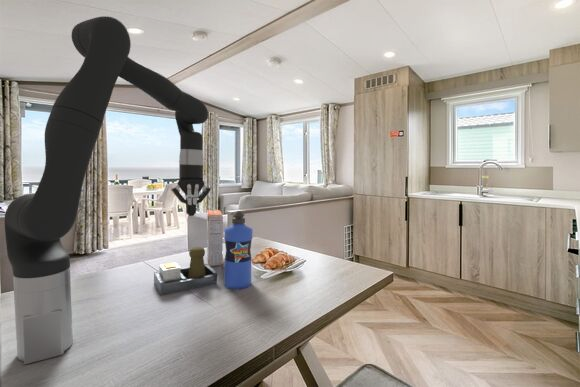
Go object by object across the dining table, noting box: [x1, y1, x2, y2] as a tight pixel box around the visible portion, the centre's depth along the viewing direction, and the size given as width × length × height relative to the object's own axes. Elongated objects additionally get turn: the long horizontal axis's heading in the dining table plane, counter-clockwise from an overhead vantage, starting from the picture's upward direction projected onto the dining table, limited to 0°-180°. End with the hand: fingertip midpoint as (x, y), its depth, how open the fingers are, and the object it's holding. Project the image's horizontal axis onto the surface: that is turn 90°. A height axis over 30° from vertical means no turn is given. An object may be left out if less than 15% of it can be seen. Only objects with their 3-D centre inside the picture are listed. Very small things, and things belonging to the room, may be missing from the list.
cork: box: [188, 246, 206, 279], centre depth 103 cm, size 6×6×11 cm
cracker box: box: [206, 209, 224, 267], centre depth 125 cm, size 14×6×21 cm, turn 17°
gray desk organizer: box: [153, 262, 218, 296], centre depth 101 cm, size 10×18×7 cm, turn 125°
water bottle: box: [223, 210, 253, 290], centre depth 101 cm, size 9×9×25 cm
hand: (191, 215), depth 100 cm, fingers closed
